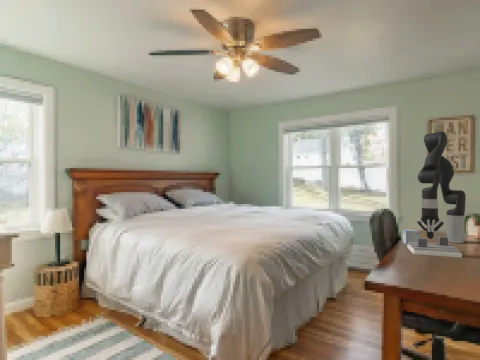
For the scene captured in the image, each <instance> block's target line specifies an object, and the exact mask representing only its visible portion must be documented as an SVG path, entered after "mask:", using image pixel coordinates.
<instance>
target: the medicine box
mask: <svg viewBox="0 0 480 360" xmlns="http://www.w3.org/2000/svg"><path fill="white" fill-rule="evenodd" d="M417 238H420V231H419V230H418V229H402V243H403V244H404V245H407V244H409V242H417Z"/></svg>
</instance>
